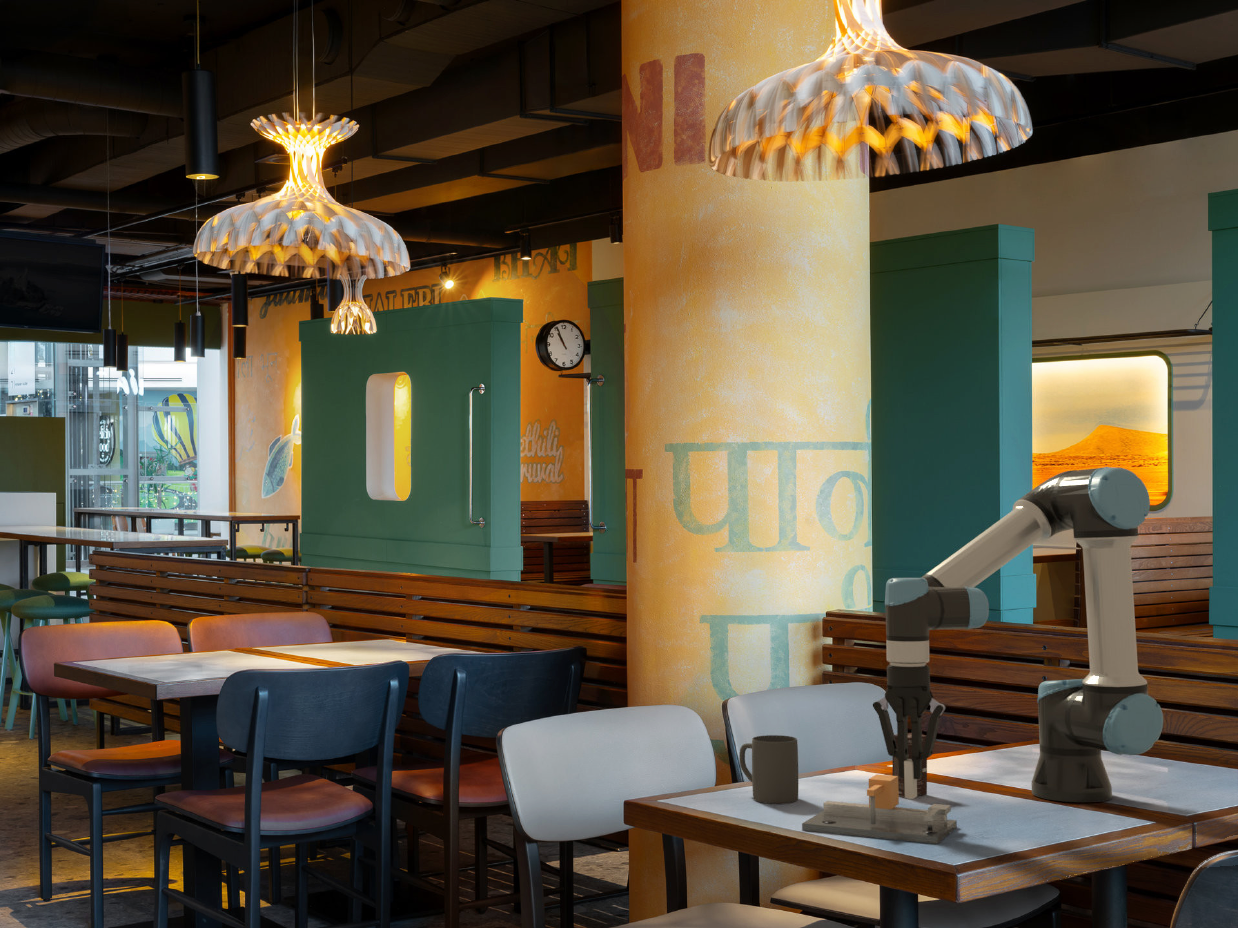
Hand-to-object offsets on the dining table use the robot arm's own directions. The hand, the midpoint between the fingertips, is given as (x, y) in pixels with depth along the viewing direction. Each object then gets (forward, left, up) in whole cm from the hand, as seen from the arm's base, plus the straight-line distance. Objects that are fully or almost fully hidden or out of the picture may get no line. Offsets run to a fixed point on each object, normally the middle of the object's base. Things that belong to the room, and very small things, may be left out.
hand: (910, 796), depth 227 cm
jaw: (+5, +3, -4) cm, 7 cm away
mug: (+33, -14, -6) cm, 36 cm away
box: (+8, -29, -6) cm, 31 cm away
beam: (+5, +3, -4) cm, 7 cm away
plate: (+5, +3, -6) cm, 8 cm away
